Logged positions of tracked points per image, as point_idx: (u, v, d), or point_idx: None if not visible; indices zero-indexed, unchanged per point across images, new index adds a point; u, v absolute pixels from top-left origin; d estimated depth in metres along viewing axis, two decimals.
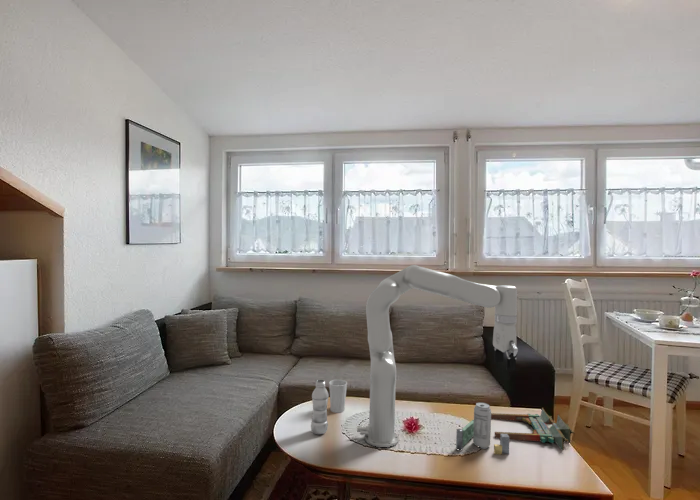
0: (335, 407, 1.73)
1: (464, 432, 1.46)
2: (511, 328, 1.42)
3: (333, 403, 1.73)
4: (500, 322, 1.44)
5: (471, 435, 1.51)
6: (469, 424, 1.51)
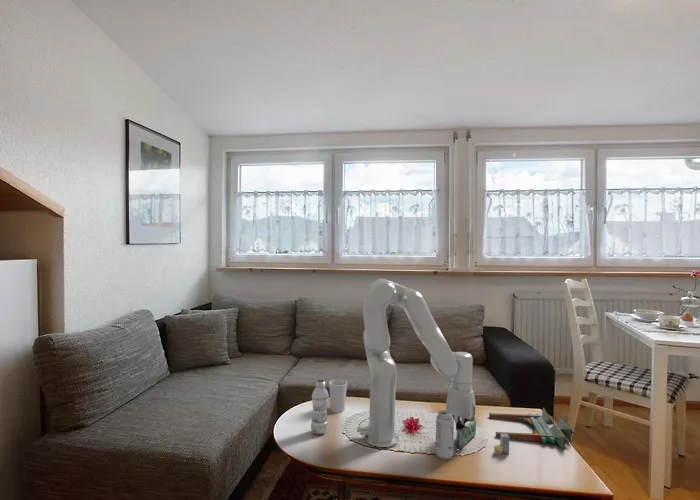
0: (335, 407, 1.73)
1: (464, 432, 1.46)
2: (473, 394, 1.49)
3: (333, 403, 1.73)
4: (464, 391, 1.48)
5: (471, 435, 1.51)
6: (469, 424, 1.51)
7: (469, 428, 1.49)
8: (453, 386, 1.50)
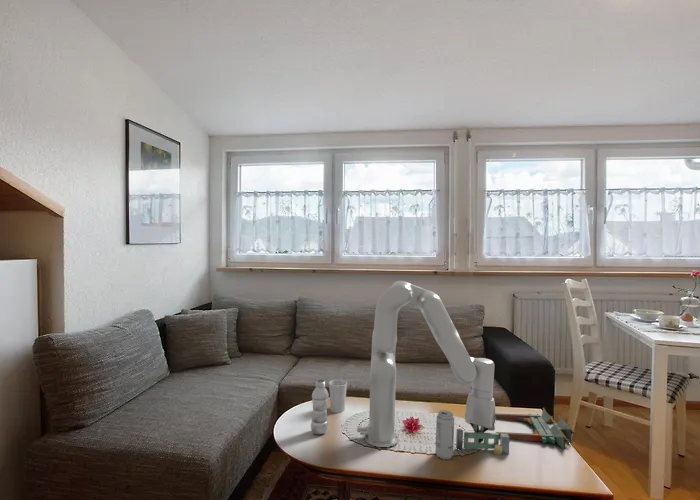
0: (335, 407, 1.73)
1: (468, 435, 1.43)
2: (494, 402, 1.44)
3: (333, 403, 1.73)
4: (485, 399, 1.43)
5: (487, 446, 1.43)
6: (484, 433, 1.44)
7: (481, 436, 1.43)
8: (473, 393, 1.45)
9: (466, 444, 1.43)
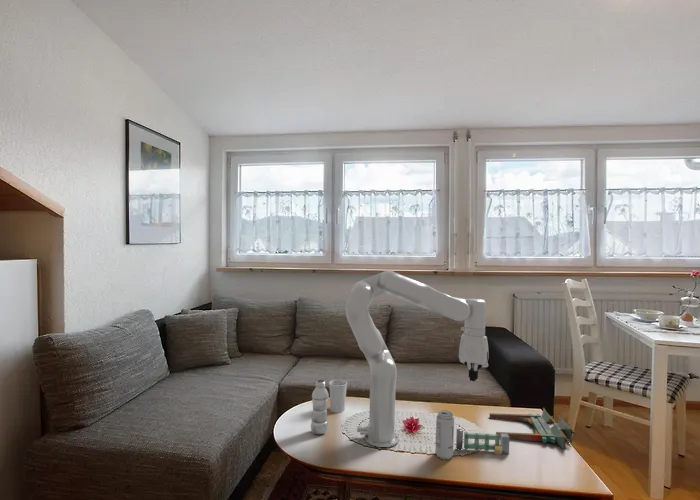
0: (335, 407, 1.73)
1: (468, 436, 1.43)
2: (486, 339, 1.47)
3: (333, 403, 1.73)
4: (477, 336, 1.46)
5: (487, 447, 1.43)
6: (485, 434, 1.43)
7: (481, 437, 1.43)
8: (466, 332, 1.48)
9: (466, 444, 1.43)
